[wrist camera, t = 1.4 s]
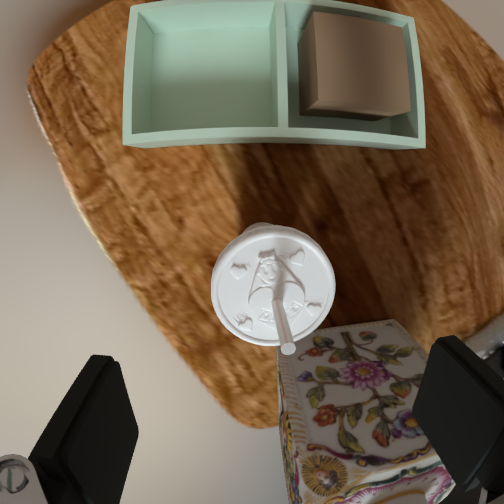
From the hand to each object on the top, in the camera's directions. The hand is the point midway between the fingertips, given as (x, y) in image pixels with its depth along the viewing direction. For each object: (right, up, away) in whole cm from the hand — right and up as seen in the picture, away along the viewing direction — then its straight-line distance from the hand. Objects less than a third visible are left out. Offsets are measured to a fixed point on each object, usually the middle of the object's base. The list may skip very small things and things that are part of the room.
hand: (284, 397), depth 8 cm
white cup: (0, +5, +17) cm, 18 cm away
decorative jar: (+7, -8, +21) cm, 23 cm away
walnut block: (+6, +17, +13) cm, 22 cm away
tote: (+1, +17, +13) cm, 22 cm away
